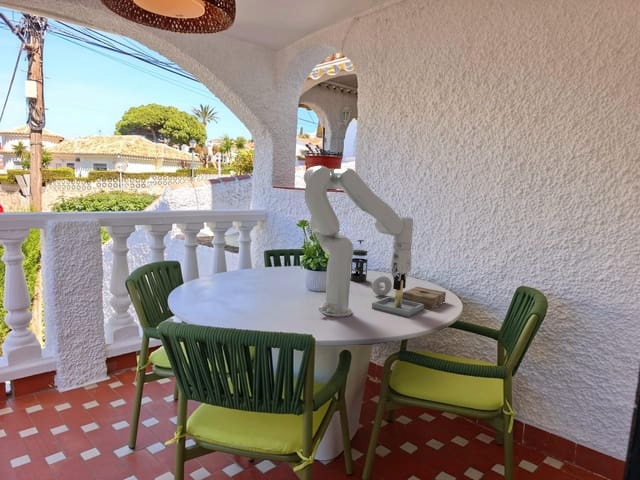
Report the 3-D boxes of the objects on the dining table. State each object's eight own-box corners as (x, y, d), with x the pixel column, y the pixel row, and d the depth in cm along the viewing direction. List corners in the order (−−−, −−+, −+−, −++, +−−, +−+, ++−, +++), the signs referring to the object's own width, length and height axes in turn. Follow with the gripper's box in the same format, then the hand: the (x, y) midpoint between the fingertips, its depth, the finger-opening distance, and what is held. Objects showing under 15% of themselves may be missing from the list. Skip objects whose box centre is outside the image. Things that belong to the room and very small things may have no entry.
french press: (348, 278, 222) (350, 238, 219) (364, 278, 223) (366, 239, 220) (352, 283, 210) (354, 241, 207) (369, 283, 211) (371, 241, 209)
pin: (399, 308, 164) (401, 281, 162) (393, 307, 165) (394, 280, 164) (402, 307, 166) (404, 280, 165) (396, 306, 168) (398, 279, 166)
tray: (408, 317, 155) (408, 311, 154) (371, 308, 165) (372, 302, 165) (423, 309, 166) (424, 304, 166) (388, 301, 177) (388, 296, 177)
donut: (372, 296, 184) (373, 276, 183) (370, 294, 187) (371, 274, 186) (392, 296, 186) (393, 276, 184) (389, 294, 189) (391, 274, 188)
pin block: (431, 309, 167) (432, 298, 166) (401, 303, 175) (402, 292, 175) (444, 302, 179) (445, 292, 179) (416, 296, 188) (417, 286, 187)
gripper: (401, 249, 154) (398, 293, 156) (418, 245, 167) (415, 287, 169) (384, 246, 158) (381, 290, 160) (403, 243, 171) (400, 283, 173)
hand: (399, 288), depth 165 cm, fingers open, 3 cm apart
